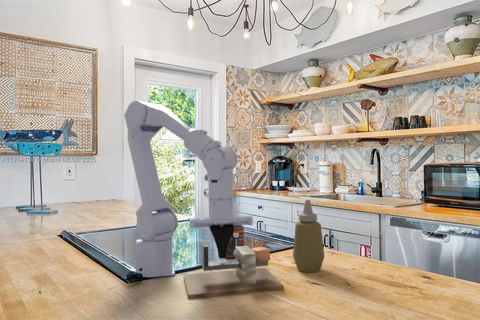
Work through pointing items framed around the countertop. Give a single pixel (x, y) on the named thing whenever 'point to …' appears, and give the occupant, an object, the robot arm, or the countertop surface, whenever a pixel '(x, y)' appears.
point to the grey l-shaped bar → (221, 261)
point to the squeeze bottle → (308, 241)
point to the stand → (233, 278)
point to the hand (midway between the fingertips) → (222, 257)
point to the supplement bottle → (235, 241)
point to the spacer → (261, 254)
